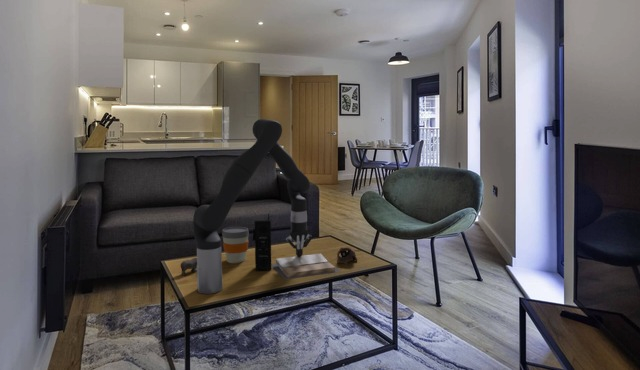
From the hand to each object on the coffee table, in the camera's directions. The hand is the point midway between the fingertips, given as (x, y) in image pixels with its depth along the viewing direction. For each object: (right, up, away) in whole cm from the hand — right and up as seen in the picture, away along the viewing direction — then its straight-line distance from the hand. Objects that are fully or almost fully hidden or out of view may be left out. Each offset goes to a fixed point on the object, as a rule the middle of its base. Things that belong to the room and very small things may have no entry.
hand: (299, 256), depth 200 cm
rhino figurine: (-46, -5, -10) cm, 48 cm away
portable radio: (-16, -5, -8) cm, 19 cm away
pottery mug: (+22, -4, +3) cm, 23 cm away
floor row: (+5, -5, -11) cm, 13 cm away
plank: (+1, -3, -3) cm, 4 cm away
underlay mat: (+3, -4, -6) cm, 8 cm away
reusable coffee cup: (-31, -3, +6) cm, 31 cm away
